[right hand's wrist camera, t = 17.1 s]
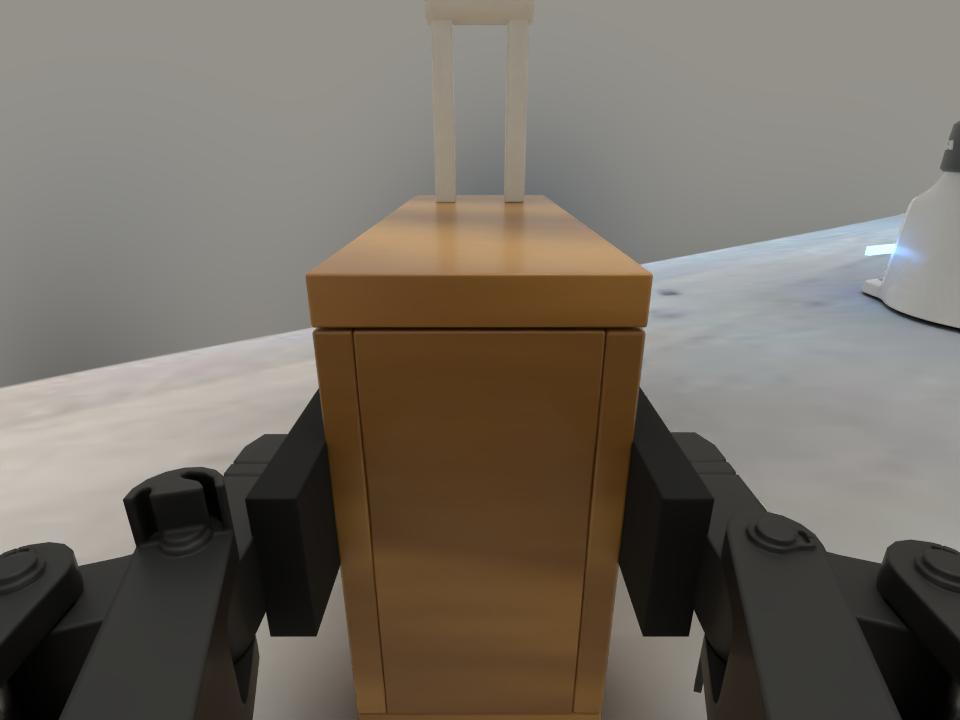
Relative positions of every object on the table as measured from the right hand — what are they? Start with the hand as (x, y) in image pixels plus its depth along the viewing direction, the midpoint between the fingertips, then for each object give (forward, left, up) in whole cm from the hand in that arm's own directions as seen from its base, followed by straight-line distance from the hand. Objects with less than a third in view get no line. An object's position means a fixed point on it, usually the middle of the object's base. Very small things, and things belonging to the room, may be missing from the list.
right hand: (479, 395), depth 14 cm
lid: (+3, +1, +3) cm, 5 cm away
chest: (+2, +1, -6) cm, 7 cm away
